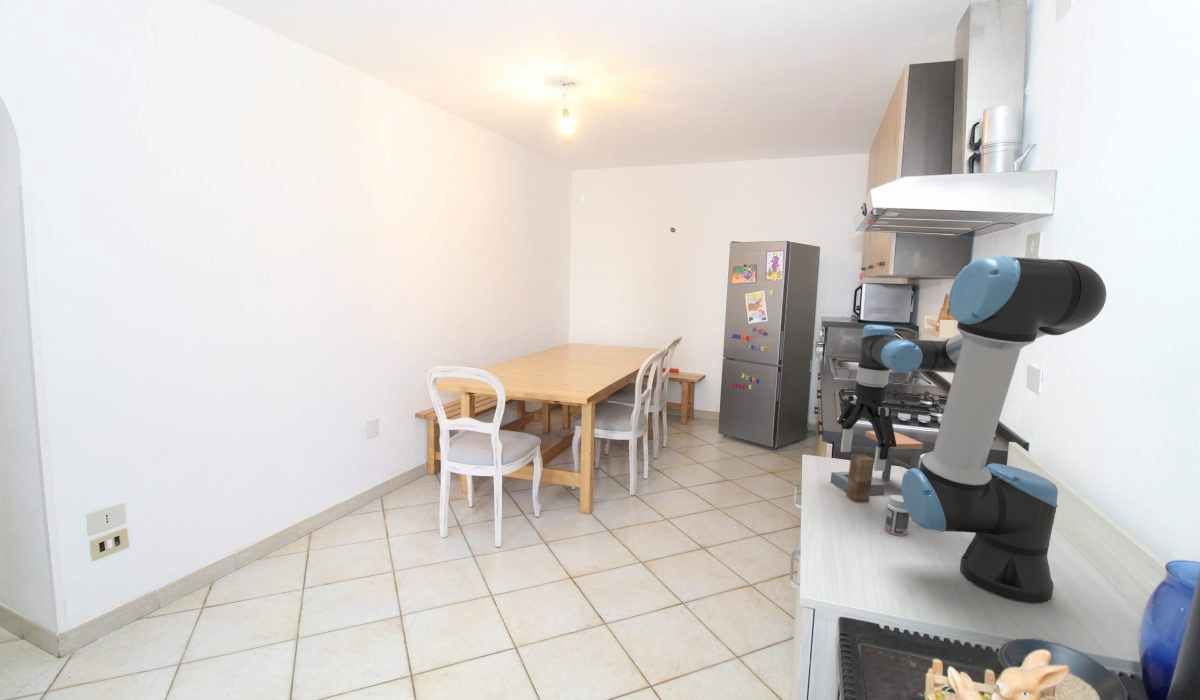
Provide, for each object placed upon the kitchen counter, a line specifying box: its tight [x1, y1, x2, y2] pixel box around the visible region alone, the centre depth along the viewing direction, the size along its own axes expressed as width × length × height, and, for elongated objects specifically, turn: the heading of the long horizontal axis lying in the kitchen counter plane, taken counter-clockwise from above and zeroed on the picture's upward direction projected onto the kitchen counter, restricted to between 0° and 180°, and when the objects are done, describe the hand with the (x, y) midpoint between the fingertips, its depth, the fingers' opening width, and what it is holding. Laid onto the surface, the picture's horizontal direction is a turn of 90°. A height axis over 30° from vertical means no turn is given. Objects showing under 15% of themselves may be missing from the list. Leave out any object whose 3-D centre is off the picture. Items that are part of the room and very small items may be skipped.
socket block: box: [830, 471, 886, 496], centre depth 156 cm, size 10×10×3 cm
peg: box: [845, 453, 875, 504], centre depth 148 cm, size 4×4×12 cm
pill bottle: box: [884, 494, 910, 537], centre depth 130 cm, size 5×5×8 cm
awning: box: [865, 430, 924, 482], centre depth 157 cm, size 12×9×15 cm
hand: (861, 460), depth 147 cm, fingers open, 13 cm apart
